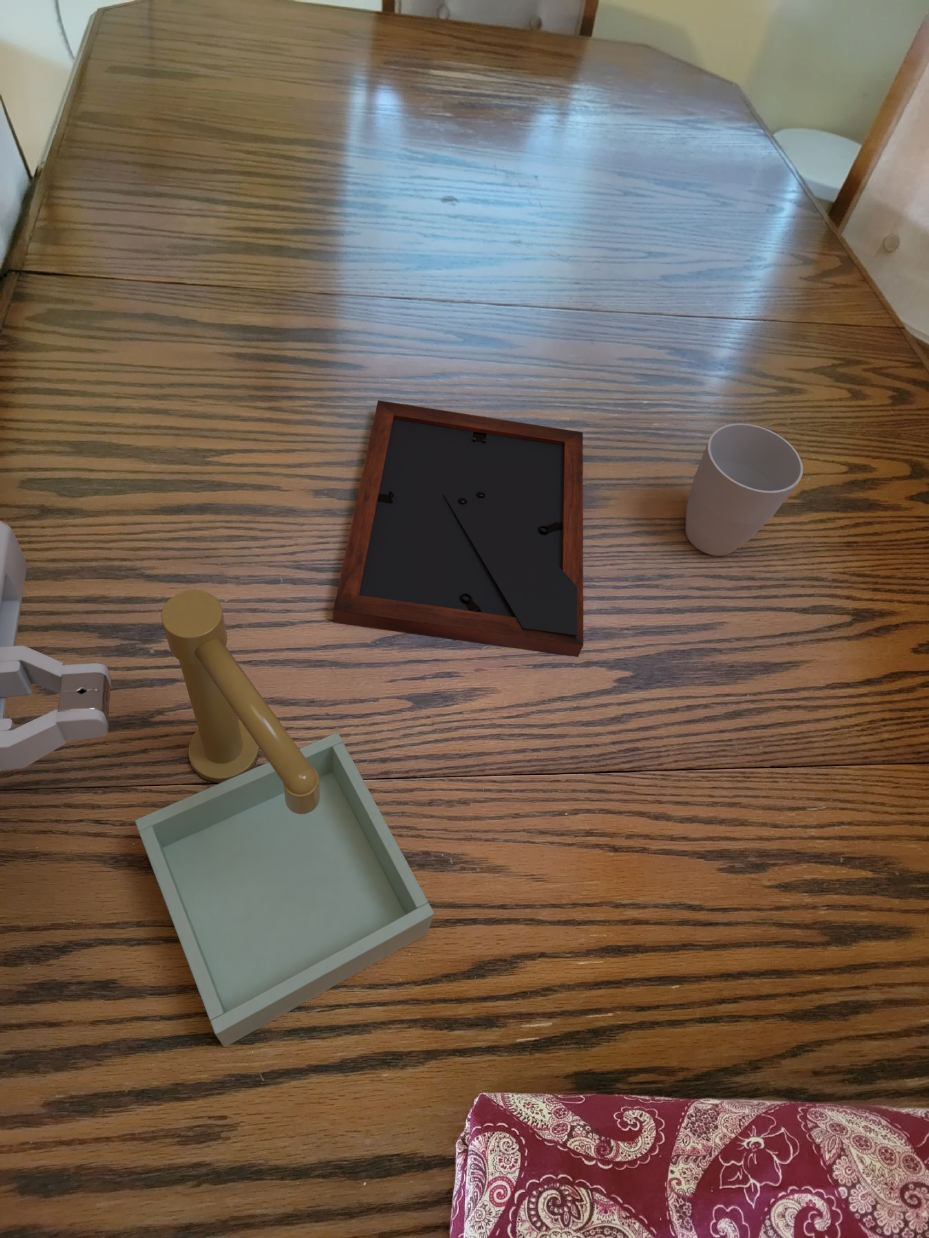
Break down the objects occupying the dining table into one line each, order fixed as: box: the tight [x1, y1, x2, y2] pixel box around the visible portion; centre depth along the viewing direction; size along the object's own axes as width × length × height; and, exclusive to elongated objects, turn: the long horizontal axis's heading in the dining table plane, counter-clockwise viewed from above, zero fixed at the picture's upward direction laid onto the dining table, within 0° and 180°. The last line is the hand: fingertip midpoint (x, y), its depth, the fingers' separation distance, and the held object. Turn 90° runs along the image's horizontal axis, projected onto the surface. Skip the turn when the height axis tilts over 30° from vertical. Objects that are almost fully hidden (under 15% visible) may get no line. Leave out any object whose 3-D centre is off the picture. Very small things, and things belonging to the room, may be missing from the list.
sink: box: [134, 731, 435, 1048], centre depth 52 cm, size 14×14×5 cm
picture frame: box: [332, 399, 584, 657], centre depth 74 cm, size 20×2×25 cm
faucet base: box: [178, 660, 260, 784], centre depth 54 cm, size 5×5×14 cm
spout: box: [160, 589, 320, 814], centre depth 45 cm, size 14×3×4 cm, turn 38°
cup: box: [685, 422, 804, 557], centre depth 74 cm, size 8×8×10 cm
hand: (107, 699), depth 37 cm, fingers closed
